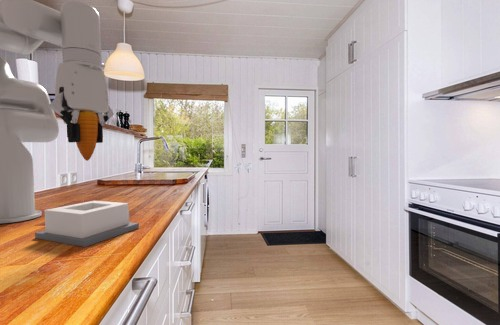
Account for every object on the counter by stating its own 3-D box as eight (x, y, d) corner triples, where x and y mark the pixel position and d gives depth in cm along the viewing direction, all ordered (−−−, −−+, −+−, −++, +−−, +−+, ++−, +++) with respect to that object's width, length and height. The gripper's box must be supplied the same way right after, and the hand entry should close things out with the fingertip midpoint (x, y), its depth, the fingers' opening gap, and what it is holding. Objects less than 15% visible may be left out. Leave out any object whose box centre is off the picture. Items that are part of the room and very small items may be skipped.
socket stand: (35, 238, 60) (33, 210, 60) (93, 222, 73) (92, 199, 73) (84, 247, 54) (83, 215, 53) (138, 228, 67) (138, 203, 66)
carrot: (88, 161, 60) (84, 92, 59) (69, 161, 61) (65, 93, 60) (104, 160, 64) (101, 96, 64) (86, 160, 66) (83, 97, 65)
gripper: (104, 73, 71) (106, 143, 72) (30, 52, 55) (34, 142, 56) (125, 70, 68) (127, 142, 69) (54, 46, 52) (58, 141, 53)
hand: (86, 141), depth 62 cm, fingers closed on carrot, 4 cm apart
